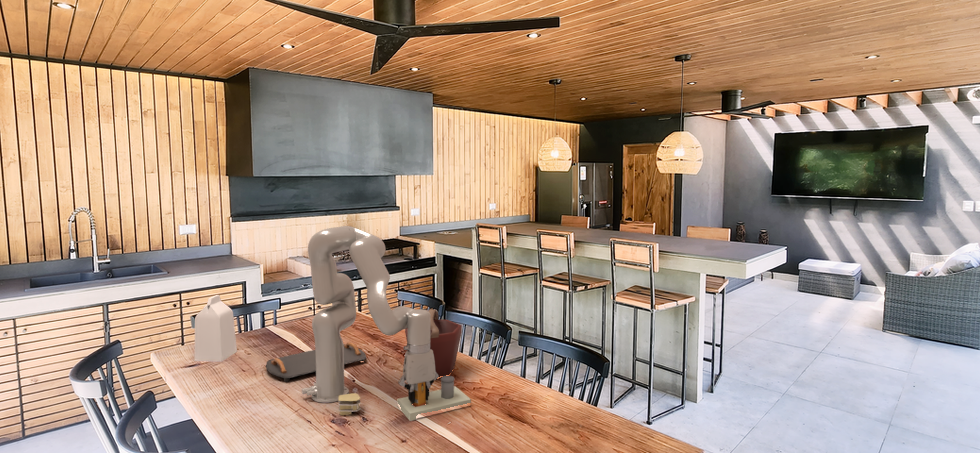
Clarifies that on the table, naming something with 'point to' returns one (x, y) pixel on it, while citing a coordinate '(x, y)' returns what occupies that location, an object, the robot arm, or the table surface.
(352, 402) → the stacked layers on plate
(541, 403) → the table surface
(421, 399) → the supplement box
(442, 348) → the bucket
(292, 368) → the serving board
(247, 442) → the table surface
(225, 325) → the milk
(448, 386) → the caddy
